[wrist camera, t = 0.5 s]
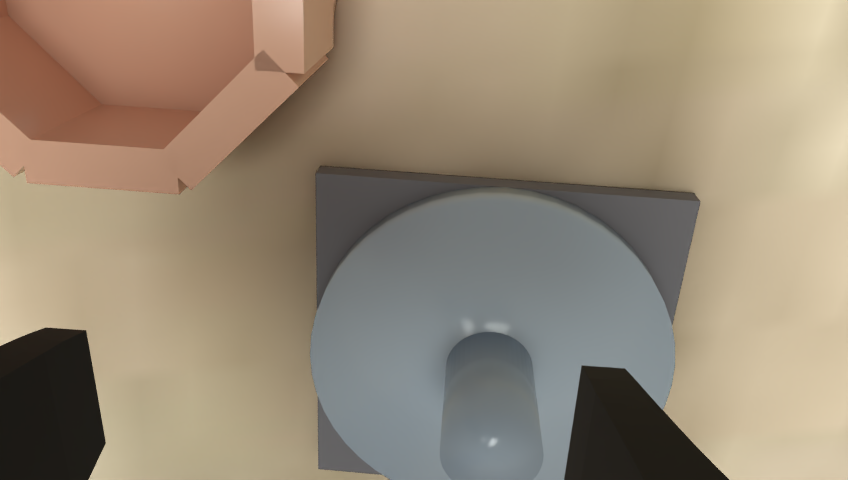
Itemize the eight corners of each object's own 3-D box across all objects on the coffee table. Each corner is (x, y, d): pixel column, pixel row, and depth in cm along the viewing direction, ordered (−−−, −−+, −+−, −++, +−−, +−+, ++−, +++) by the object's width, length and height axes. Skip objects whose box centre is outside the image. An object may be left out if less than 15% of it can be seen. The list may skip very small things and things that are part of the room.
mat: (629, 483, 23) (632, 497, 23) (322, 456, 23) (318, 469, 23) (694, 193, 19) (700, 201, 18) (320, 166, 19) (315, 173, 19)
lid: (632, 496, 23) (667, 625, 18) (318, 468, 23) (284, 587, 19) (700, 201, 18) (763, 282, 14) (315, 172, 19) (271, 243, 15)
